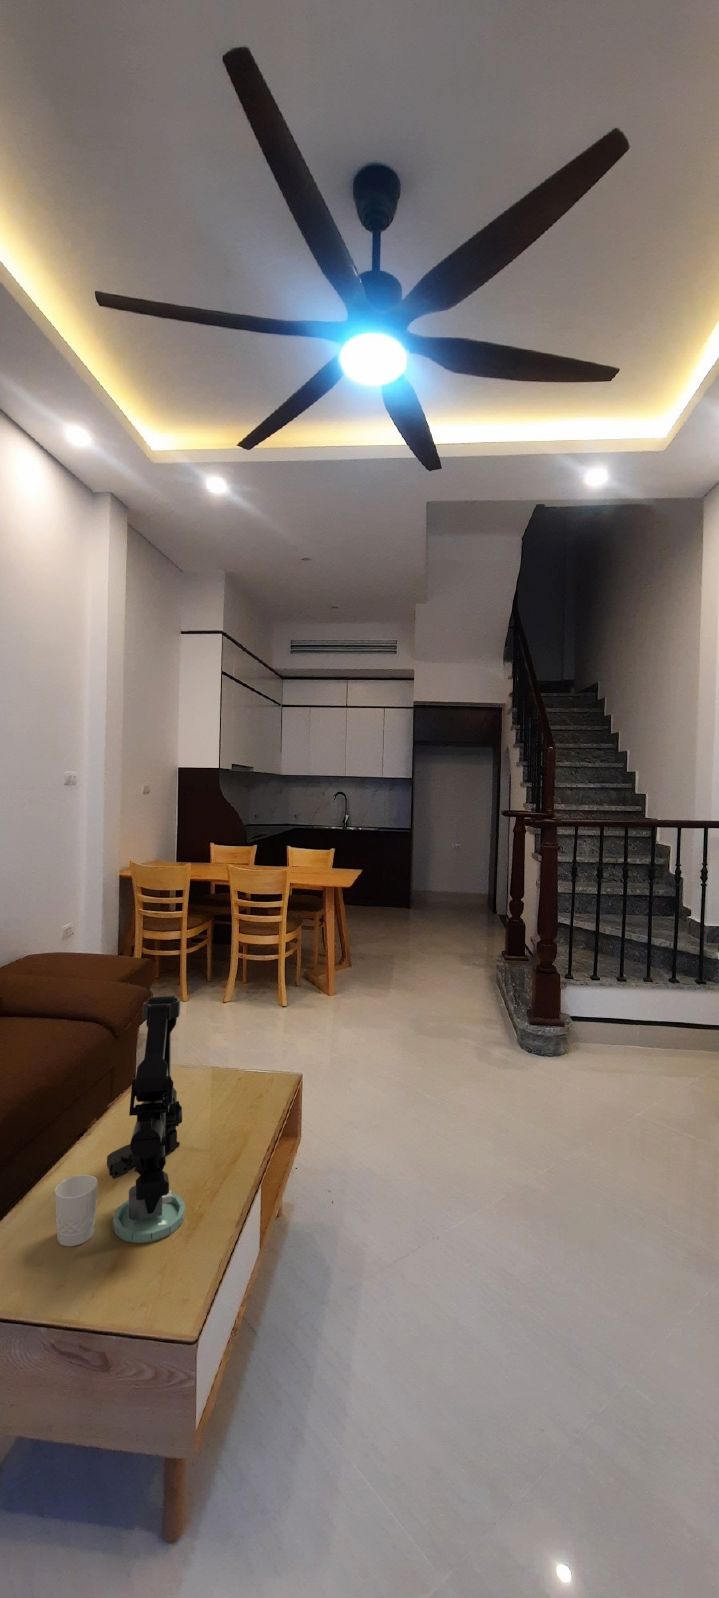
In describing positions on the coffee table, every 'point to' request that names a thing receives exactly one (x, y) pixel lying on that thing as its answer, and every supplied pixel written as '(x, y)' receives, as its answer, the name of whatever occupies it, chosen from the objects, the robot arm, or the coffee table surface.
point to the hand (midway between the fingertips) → (149, 1207)
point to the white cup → (75, 1209)
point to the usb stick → (139, 1206)
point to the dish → (149, 1222)
